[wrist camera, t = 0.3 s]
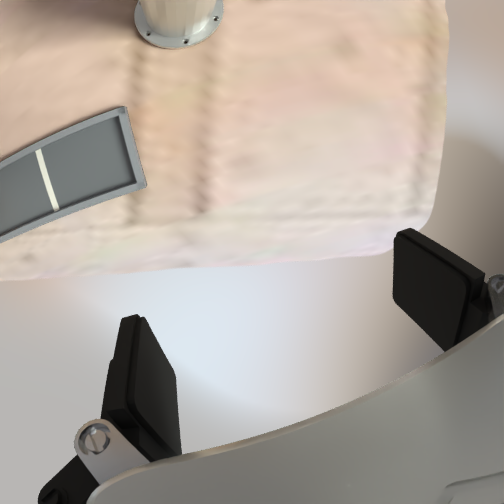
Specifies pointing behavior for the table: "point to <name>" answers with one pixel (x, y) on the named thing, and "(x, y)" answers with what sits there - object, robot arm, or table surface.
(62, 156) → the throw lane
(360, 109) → the table surface
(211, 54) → the table surface
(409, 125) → the table surface
